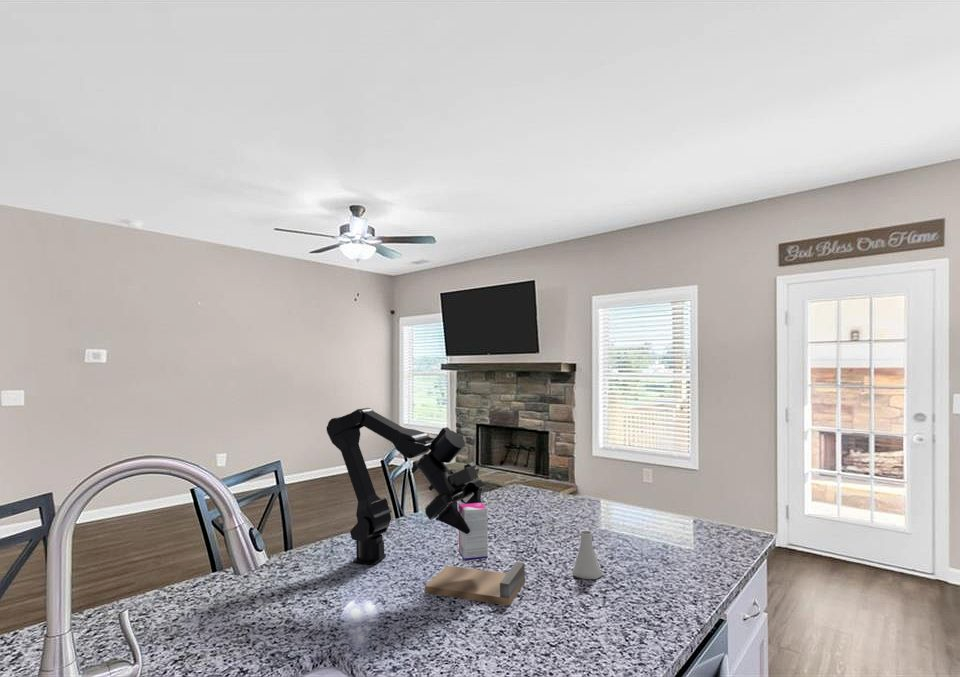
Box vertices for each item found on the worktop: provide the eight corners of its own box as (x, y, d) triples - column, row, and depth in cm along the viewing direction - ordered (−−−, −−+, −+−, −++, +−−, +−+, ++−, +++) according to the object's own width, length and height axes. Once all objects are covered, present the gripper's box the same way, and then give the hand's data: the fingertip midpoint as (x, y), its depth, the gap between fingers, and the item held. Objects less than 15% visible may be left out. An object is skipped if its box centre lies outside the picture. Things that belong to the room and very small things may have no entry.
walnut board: (424, 592, 117) (424, 572, 117) (447, 571, 128) (446, 553, 128) (509, 605, 110) (508, 584, 110) (525, 582, 121) (524, 562, 121)
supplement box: (488, 558, 119) (487, 508, 120) (463, 561, 118) (462, 510, 118) (482, 549, 125) (481, 501, 125) (458, 552, 123) (457, 503, 124)
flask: (605, 570, 126) (604, 529, 127) (599, 582, 120) (597, 538, 120) (576, 566, 129) (575, 525, 130) (568, 577, 123) (567, 535, 123)
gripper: (435, 460, 116) (478, 517, 110) (477, 447, 132) (516, 496, 126) (407, 492, 120) (448, 548, 114) (451, 475, 136) (489, 523, 130)
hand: (477, 527), depth 121 cm, fingers closed on supplement box, 8 cm apart
